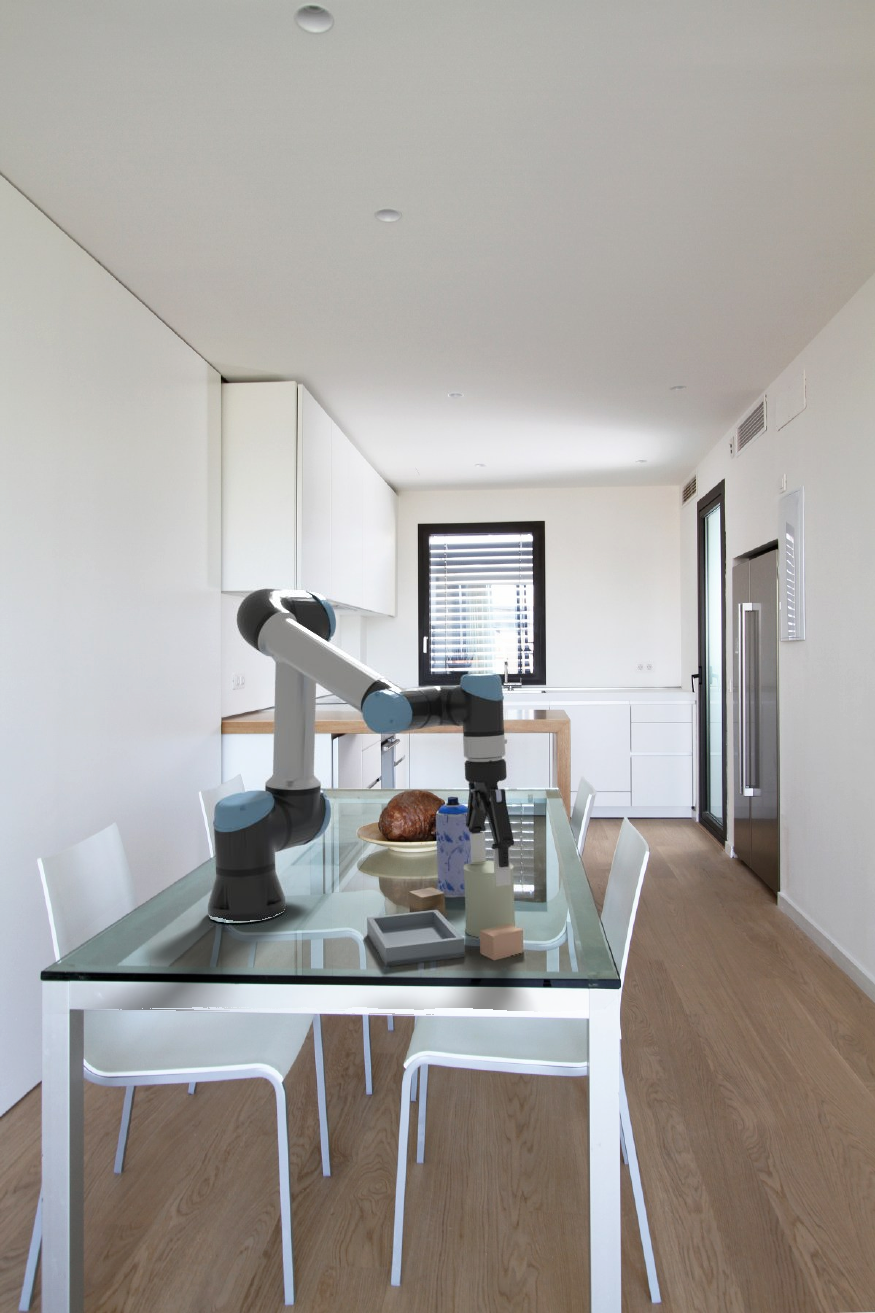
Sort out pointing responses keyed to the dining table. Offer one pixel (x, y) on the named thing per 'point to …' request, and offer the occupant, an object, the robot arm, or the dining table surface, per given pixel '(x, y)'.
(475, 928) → the can
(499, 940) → the soap block
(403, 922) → the tray
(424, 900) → the walnut block
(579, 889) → the dining table surface
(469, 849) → the aerosol can
